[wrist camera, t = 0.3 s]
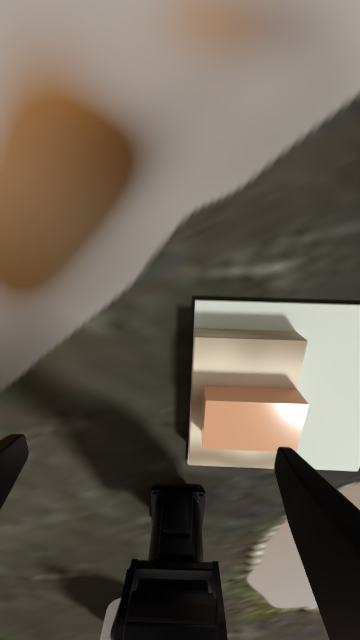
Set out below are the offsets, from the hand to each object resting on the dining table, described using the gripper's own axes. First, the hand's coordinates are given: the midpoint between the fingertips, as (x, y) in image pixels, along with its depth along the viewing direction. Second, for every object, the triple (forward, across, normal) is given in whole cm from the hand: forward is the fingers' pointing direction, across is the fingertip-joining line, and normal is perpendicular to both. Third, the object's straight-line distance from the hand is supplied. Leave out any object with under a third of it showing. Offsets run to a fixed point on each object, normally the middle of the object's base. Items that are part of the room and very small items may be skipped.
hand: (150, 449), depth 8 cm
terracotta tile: (+11, -7, +7) cm, 15 cm away
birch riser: (+13, -6, +7) cm, 16 cm away
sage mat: (+13, -12, +7) cm, 19 cm away
